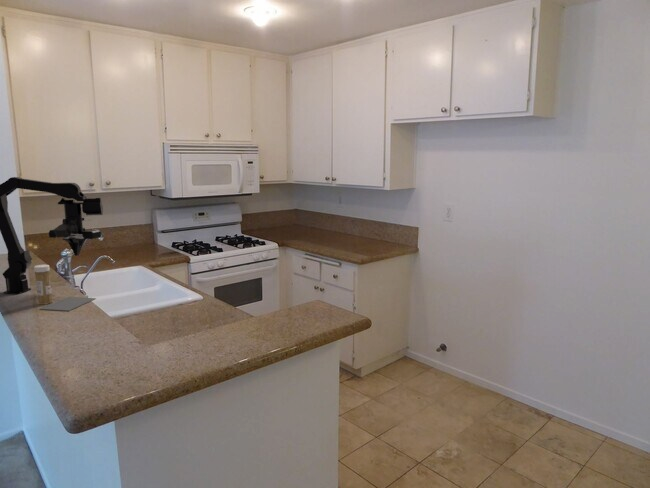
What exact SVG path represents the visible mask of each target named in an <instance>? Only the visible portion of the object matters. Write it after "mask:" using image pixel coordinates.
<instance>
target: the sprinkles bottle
mask: <svg viewBox="0 0 650 488" xmlns="http://www.w3.org/2000/svg"><path fill="white" fill-rule="evenodd" d="M50 270H51V269H50V265H49V264H37V265H34V267H33V272H34V273H35V285H36V293H37V300H38V301H37V303H38V304H39V305H50V304H52V303H54V300H53V293H52V292H53V289H52V284H51V277H50Z"/></svg>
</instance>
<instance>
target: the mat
mask: <svg viewBox="0 0 650 488" xmlns="http://www.w3.org/2000/svg"><path fill="white" fill-rule="evenodd" d="M95 300H97V298H95V297H79V296H78V297H76V296H66V297H64V298H62V299H60V300H57V301H55V302H52V303H49V304H46V305H45V306H42V307H40V308H39V310H40V311H42V310H43V311H57V312H58V311H59V312H72V311H73V310H75V309H77V308H79V307H82V306H83V305H86V304H88V303H91V302H93V301H95Z"/></svg>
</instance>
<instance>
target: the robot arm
mask: <svg viewBox="0 0 650 488" xmlns="http://www.w3.org/2000/svg"><path fill="white" fill-rule="evenodd" d="M17 189H20V190H21V189H23V190H29V191H34V192H35V191H36V192H42V193H50V194H53V195H55V196H56V195H57V196H59V197H62V198H61V200H59V201H58V202H57V205H63V208H64V209H63V210H64V218H63V219H62V223H61V224H59V225H57V227H55V228H53V229H50V230H49V231H48V238H53V239H55V238H62V240H63V241H65V242H67V244H69V246H70V248H71V251H72V252H73V254H74V256H79V255H80V253H81V252H82V251H81V250H82V248H83V245H84V244H85V241H86V240H94V239H99V238H101V237H102V232H101V230H100V229H88V230H86V228H85V227H83V221H85V217H83V216H82V214H85V215H86V216H103V214H104V205H103V203H102V202H103V201H102V198H101V197H94V198H93V197H91V198H90V197H87V196H86V195H85V194H84V193H83V192H82V191H81V190H82V189H81V186H80V185H78V184H77V183H76V182H49V181H41V180H36V179H35V180H34V179H27V178H23V177H21V178H20V177H19V176H14V177H10V178H8V179H7V180H5V181H4V182H3V183H0V234H1V237H2V240H3V242H4V244H5V247H6V250H7V263H8V267H7V269H6V270H4V271H3V273H2V277H3V278H4V280H5V286H6V290H5V291H3V294H13V295H15V294H16V295H18V294H22V293H24V292H28V291H30V290H32V288H31V287H29V283H28V279H27V274H26V273H27V270H28V269H29V268H30V267H31V266H32V260H33V257H32V256H31V253H30V250H29V249H26V250H24V248H23V247H22V246H21V243H20V241H19V238H18V234H17V233H16V230H15V227H14V224H13V221H12V220H11V216H10V214H9V212H8V211H9V209H8V206H9V204H8V203H9V202H8V198H7V197H8V196H9V195H11V194H12V193H13V192H14V191H16V190H17Z"/></svg>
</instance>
